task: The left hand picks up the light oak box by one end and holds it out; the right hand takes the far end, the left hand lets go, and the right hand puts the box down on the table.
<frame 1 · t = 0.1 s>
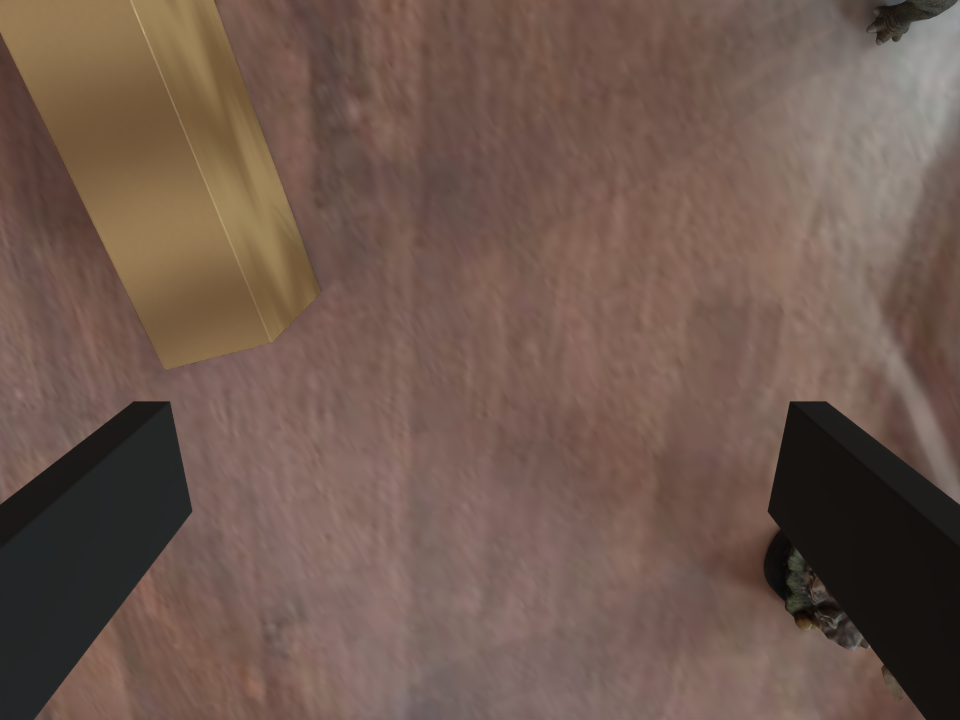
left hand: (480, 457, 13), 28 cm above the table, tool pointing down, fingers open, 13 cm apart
box: (211, 130, 37), on the table
figurine: (833, 563, 48), on the table
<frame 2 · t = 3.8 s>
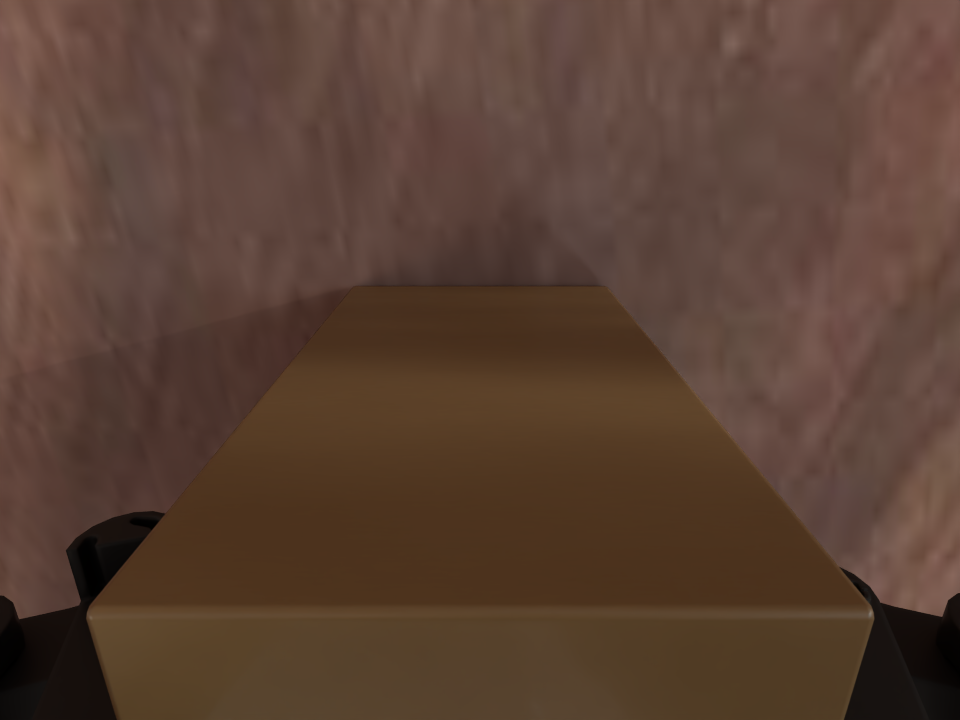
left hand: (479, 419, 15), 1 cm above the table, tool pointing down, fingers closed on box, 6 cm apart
box: (480, 650, 18), on the table, touching left hand
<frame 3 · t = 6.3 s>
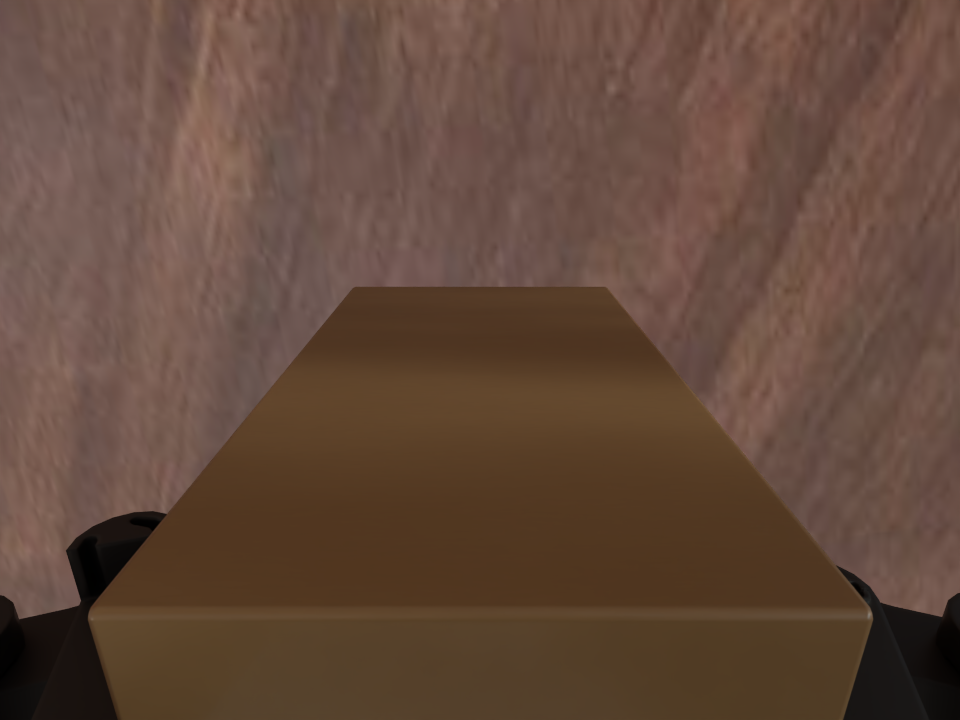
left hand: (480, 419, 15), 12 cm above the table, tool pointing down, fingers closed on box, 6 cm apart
box: (480, 650, 18), point 11 cm above the table, touching left hand
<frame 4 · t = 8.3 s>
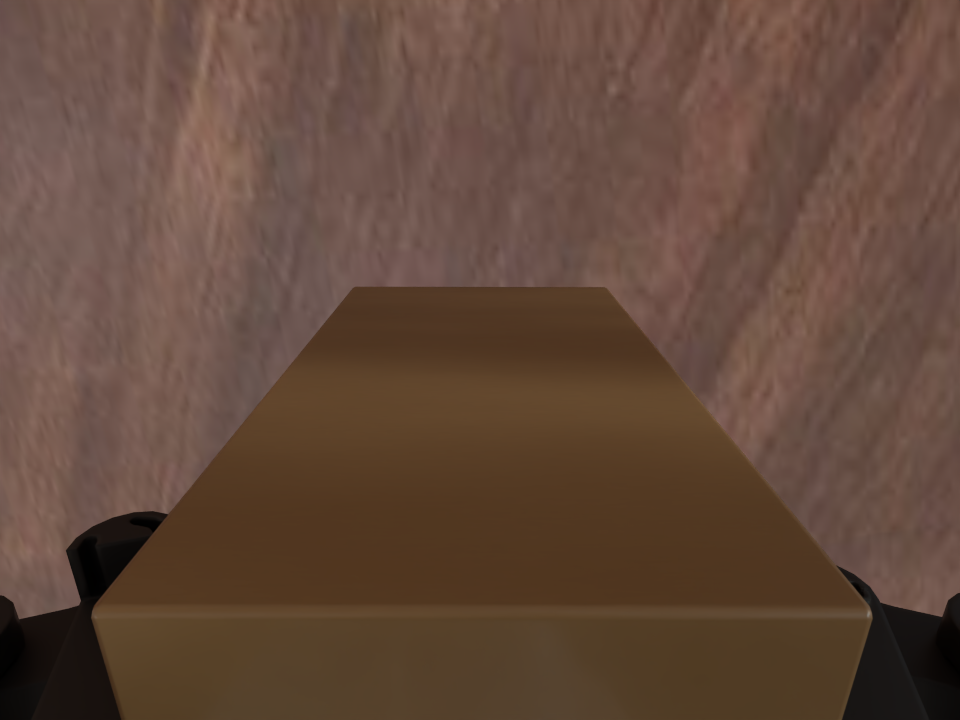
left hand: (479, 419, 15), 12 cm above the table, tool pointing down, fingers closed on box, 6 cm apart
box: (479, 650, 18), point 11 cm above the table, touching left hand, right hand
when the left hand's fingers open (12 cm above the table, at t = 9.2 s): box stays where it is, held by the right hand.
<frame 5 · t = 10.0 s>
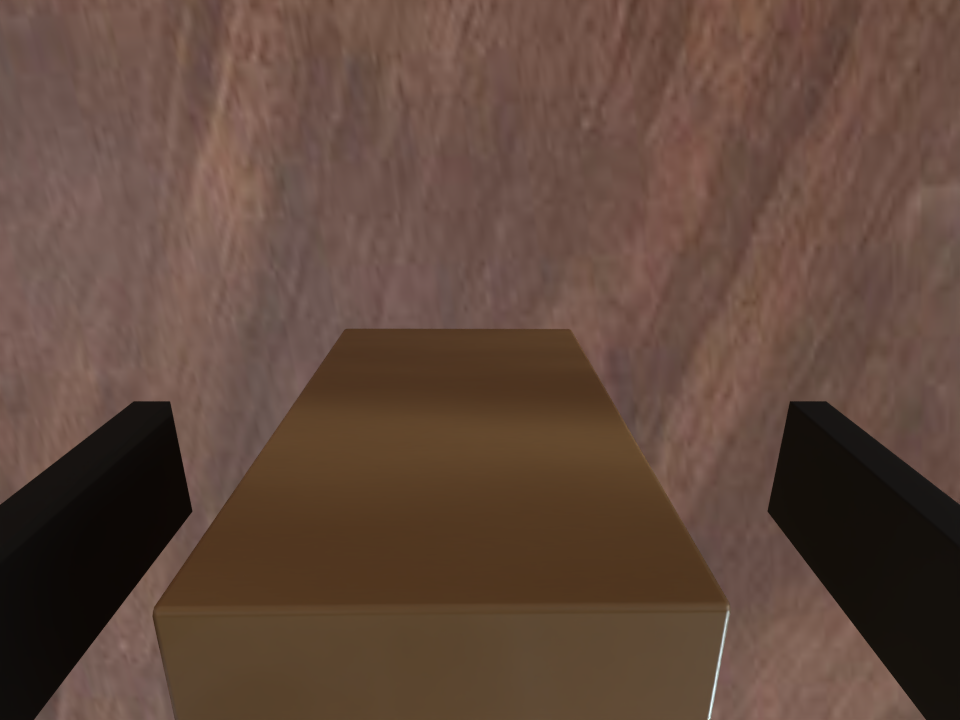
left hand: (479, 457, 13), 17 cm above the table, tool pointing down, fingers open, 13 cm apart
box: (459, 659, 20), point 13 cm above the table, touching right hand
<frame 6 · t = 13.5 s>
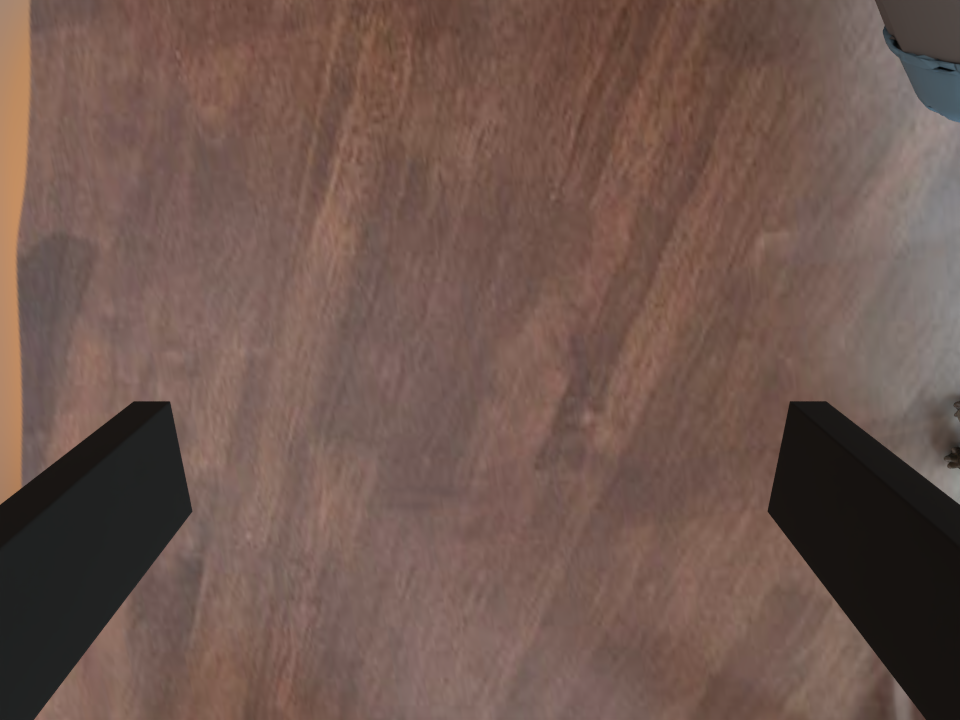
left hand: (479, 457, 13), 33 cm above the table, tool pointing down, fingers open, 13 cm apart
when the right hand's fingers open (6 cm above the table, at t = 19.0 s): box stays where it is, on the table.
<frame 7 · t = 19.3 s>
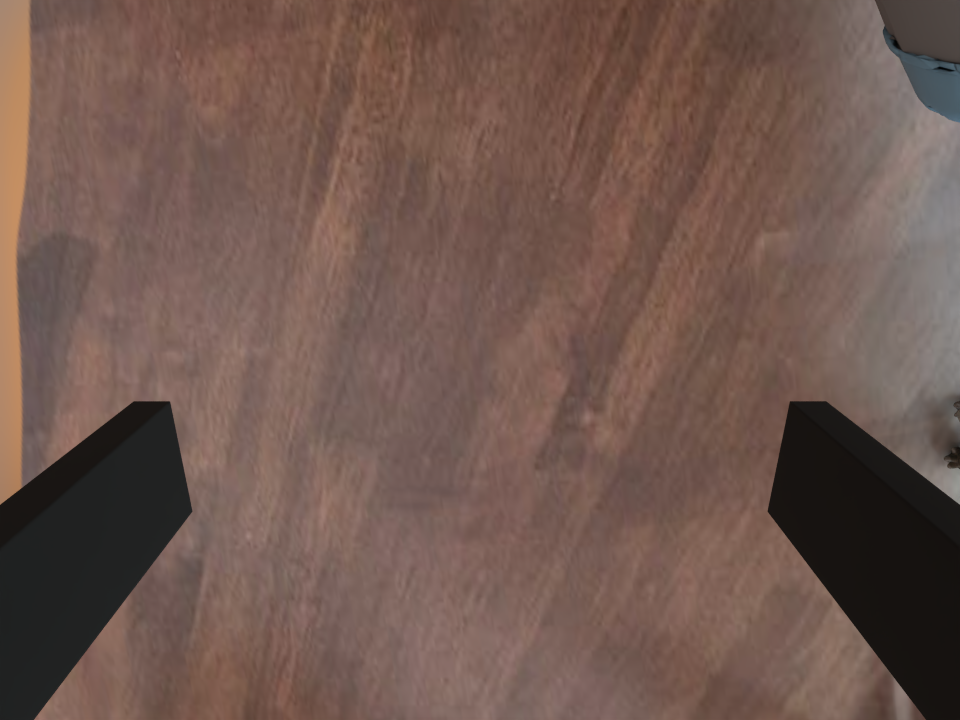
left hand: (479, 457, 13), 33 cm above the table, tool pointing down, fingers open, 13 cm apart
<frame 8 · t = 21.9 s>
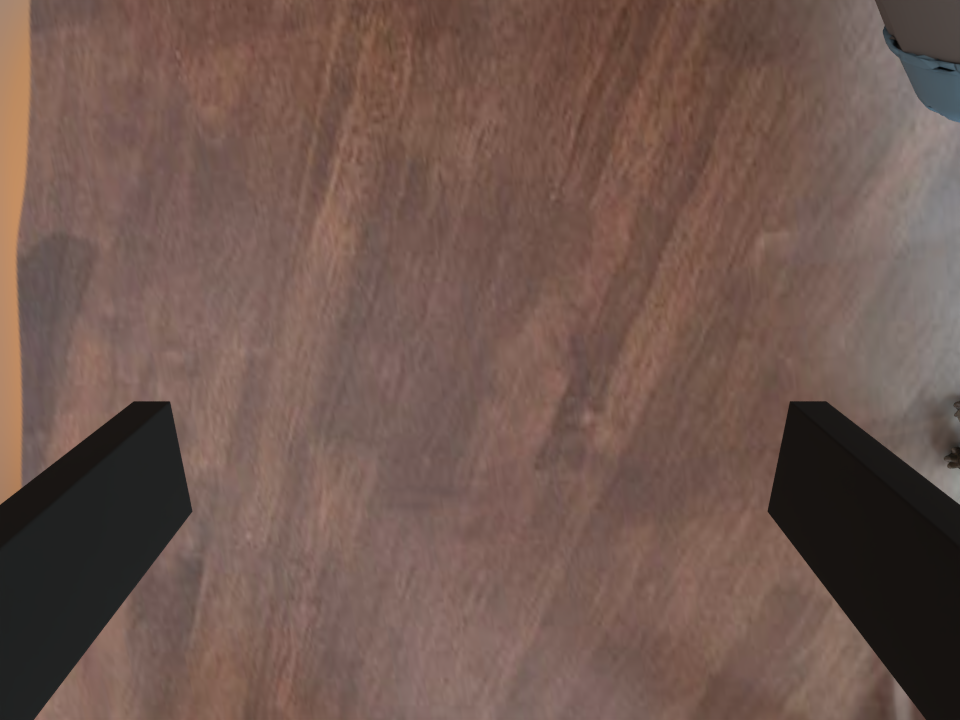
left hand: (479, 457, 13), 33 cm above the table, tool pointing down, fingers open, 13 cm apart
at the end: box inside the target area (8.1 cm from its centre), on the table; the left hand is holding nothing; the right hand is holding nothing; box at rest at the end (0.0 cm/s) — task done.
